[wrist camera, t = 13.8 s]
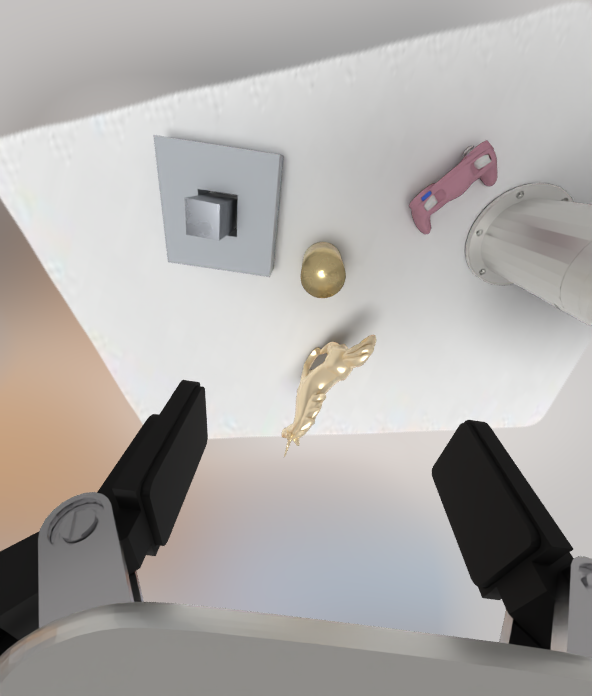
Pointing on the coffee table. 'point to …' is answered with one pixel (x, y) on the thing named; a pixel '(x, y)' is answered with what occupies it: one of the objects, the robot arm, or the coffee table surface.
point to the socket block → (227, 177)
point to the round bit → (322, 270)
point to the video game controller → (455, 183)
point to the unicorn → (324, 382)
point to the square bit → (211, 215)
